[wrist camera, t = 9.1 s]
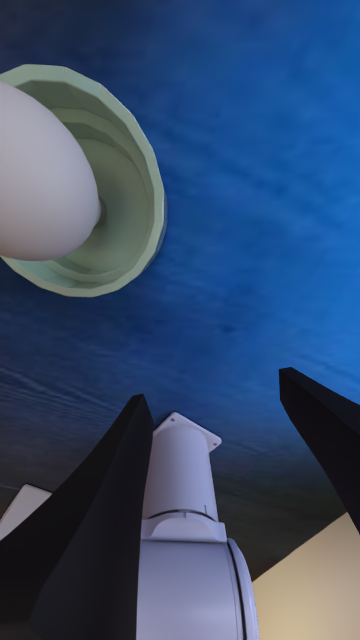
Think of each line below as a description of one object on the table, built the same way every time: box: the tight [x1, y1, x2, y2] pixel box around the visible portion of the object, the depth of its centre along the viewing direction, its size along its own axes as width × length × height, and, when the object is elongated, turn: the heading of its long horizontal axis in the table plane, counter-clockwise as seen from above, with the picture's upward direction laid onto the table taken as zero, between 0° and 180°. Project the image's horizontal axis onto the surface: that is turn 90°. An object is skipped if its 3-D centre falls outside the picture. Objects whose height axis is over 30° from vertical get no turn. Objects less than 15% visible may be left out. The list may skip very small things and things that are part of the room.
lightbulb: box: [0, 81, 107, 261], centre depth 11 cm, size 6×6×11 cm
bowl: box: [0, 64, 167, 297], centre depth 14 cm, size 12×12×5 cm
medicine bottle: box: [0, 484, 53, 540], centre depth 26 cm, size 7×7×12 cm
